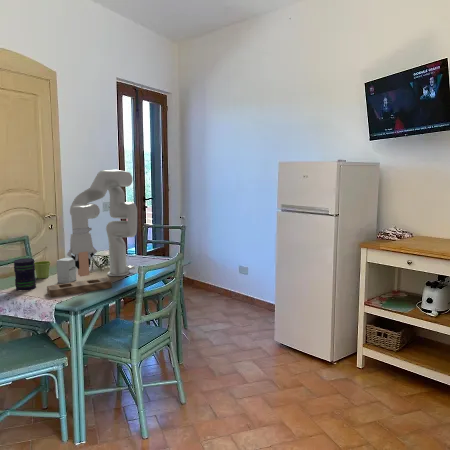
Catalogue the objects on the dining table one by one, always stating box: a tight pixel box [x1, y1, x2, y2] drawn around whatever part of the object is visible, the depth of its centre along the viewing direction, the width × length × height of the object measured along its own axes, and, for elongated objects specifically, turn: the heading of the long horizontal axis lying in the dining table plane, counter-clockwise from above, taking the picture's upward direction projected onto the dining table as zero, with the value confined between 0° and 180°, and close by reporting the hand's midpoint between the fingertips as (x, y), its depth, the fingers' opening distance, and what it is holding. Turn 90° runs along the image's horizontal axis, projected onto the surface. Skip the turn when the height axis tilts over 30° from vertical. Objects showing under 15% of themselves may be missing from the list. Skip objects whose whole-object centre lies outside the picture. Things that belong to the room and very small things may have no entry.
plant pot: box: [34, 260, 52, 279], centre depth 238 cm, size 9×9×9 cm
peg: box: [77, 251, 90, 277], centre depth 204 cm, size 4×4×12 cm
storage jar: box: [13, 257, 37, 291], centre depth 216 cm, size 10×10×15 cm
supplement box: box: [56, 257, 77, 284], centre depth 229 cm, size 7×7×13 cm
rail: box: [46, 277, 113, 298], centre depth 212 cm, size 30×9×4 cm, turn 122°
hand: (83, 266), depth 205 cm, fingers closed on peg, 4 cm apart
